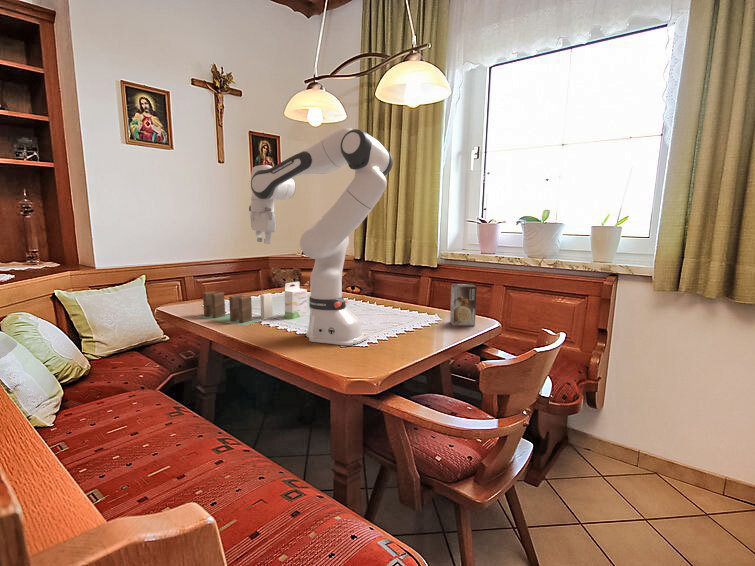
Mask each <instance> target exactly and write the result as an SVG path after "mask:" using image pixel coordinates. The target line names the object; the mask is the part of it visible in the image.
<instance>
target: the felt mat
mask: <svg viewBox="0 0 755 566" xmlns="http://www.w3.org/2000/svg"><path fill="white" fill-rule="evenodd" d="M197 318H198V319H203V320H204V319H205V320H211V321H215V322H221V323H227V324H232V325H237V326H238V325H239V326H242V327H245V326H248V325H251V324H254V323H257V322H260V321H262V319H258V318H253V317H252V321H248V322H245V323H239V320H237V321H230V313H229V314H227V313H225V316H223V317H219V318H213V316H209V317H205V316H204V314H201V315H198V316H197Z"/></svg>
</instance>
